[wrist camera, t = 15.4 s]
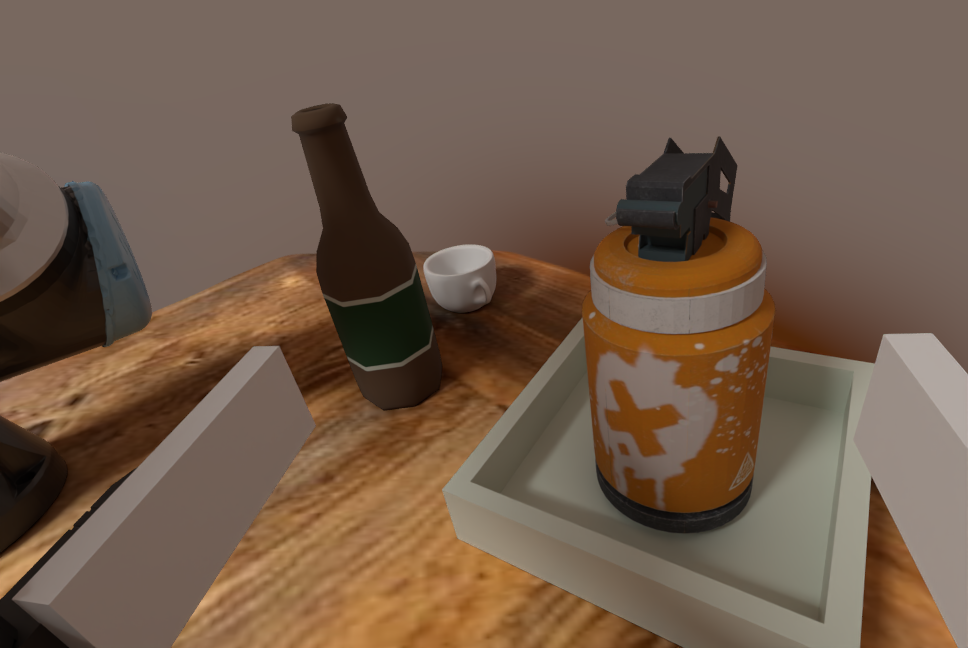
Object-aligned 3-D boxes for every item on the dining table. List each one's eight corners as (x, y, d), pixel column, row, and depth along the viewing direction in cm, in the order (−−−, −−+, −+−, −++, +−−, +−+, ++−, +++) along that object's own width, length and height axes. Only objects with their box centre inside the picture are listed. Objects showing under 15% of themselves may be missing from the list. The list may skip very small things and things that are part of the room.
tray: (457, 538, 33) (441, 489, 30) (587, 359, 46) (583, 315, 44) (837, 722, 22) (858, 668, 20) (864, 417, 35) (878, 364, 33)
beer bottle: (458, 391, 45) (382, 98, 33) (371, 425, 44) (257, 128, 31) (432, 349, 52) (360, 91, 39) (356, 377, 50) (256, 115, 38)
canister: (572, 504, 32) (532, 186, 22) (639, 397, 39) (631, 120, 29) (729, 568, 27) (771, 193, 17) (772, 431, 34) (819, 111, 24)
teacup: (423, 303, 61) (411, 261, 58) (480, 279, 63) (471, 238, 61) (462, 337, 53) (451, 291, 50) (525, 309, 55) (518, 263, 53)
